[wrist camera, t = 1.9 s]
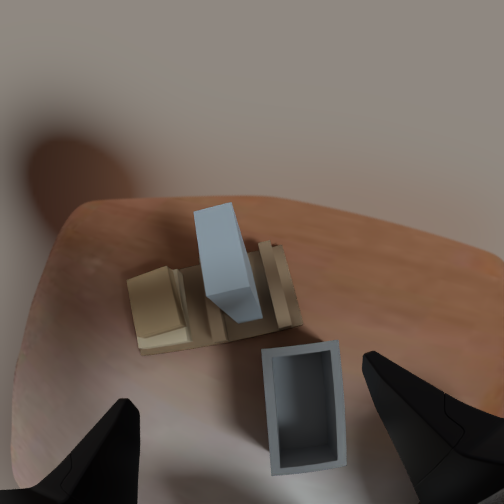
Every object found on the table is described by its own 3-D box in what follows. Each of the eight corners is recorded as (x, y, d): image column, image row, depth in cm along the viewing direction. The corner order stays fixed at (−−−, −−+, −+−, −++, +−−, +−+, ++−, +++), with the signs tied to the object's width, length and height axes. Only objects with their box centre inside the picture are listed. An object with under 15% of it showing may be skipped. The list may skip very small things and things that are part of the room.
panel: (262, 318, 21) (249, 286, 12) (238, 323, 21) (206, 296, 12) (251, 266, 23) (231, 202, 14) (227, 271, 23) (193, 211, 14)
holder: (334, 446, 17) (346, 465, 13) (273, 454, 17) (271, 475, 13) (326, 343, 20) (338, 339, 16) (264, 350, 21) (261, 349, 17)
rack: (302, 324, 21) (306, 319, 18) (144, 355, 21) (124, 353, 18) (281, 247, 24) (282, 230, 21) (136, 282, 24) (117, 270, 21)
